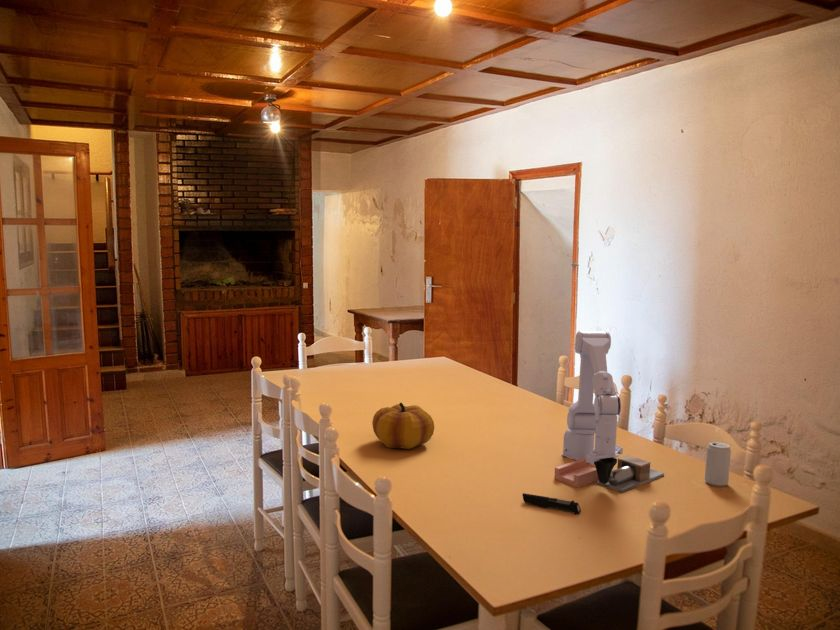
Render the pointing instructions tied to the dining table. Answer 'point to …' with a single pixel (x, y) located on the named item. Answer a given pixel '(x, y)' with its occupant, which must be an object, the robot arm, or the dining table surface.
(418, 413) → the decorative pumpkin
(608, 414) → the robot arm
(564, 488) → the dining table surface
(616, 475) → the axle
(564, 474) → the cradle
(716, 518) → the dining table surface
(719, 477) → the beverage can
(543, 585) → the dining table surface
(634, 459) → the arched stand
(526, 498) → the electric trimmer
